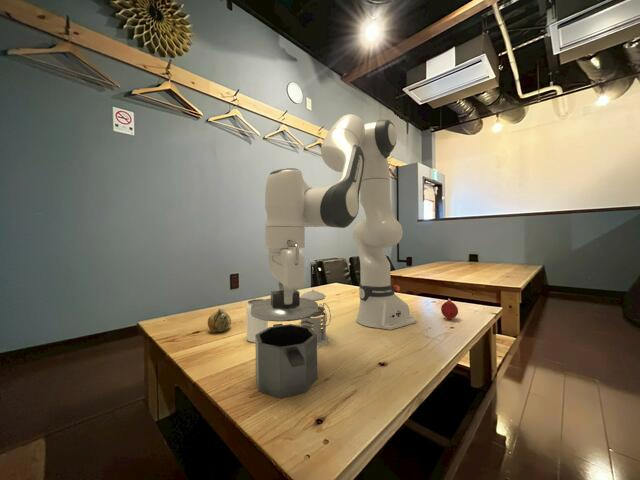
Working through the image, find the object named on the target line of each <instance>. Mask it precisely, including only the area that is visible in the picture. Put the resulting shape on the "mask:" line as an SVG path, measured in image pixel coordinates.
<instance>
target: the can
mask: <svg viewBox="0 0 640 480" xmlns="http://www.w3.org/2000/svg"><path fill="white" fill-rule="evenodd" d="M261 300H265V299H263V298H259V299H258V298H255V299H250V300H248V301H247V306H246V340H247V341H248V342H250V343H252V344H254V343H255V335H256V334H258V333H260V332H261V331H263V330H265V329H267V328H269V325H268V322H269V321H265V320H260V319H257V318H255V317H253V316H252V315H251V306H252V305H253V304H254V303H256V302H258V301H261ZM255 344H256V343H255Z"/></svg>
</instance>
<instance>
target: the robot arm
mask: <svg viewBox="0 0 640 480" xmlns="http://www.w3.org/2000/svg"><path fill="white" fill-rule="evenodd" d="M397 140H398V139H397V130H396V127H395V125H394V123H393V122H392V121H391V120H390V119H380V120H377V121H373V122H368V123H364V121H363V120H362V119H361V117H359V116H358V115H355V114H349V113H348V114H345V115H343V116H341V117H340V118H339V119H337V121H336V122H335V123H334V124H333V125H332V127H331V128H330V129H329V131H328V133H327V134H326V135H325V137H324V139H323V141H322V143H321V148H320V154H321V158H322V160H323V162H324V163H325V165H327V167H328V168H330V169H331V170H333V171H335V172H338V173H341V174H340V178H339V180H338V181H336V183H333V184H330V185H327V186H320V187H312V186H310V185H309V184H308V183H307V182H306V181H305V179H304V178H303V173H302V170H301V169H298V168H293V167H292V168H291V167H290V168H289V167H288V168H281V169H276V170H273V171H271V172H270V173H269V174H268V176H267V179H266V183H265V184H266V185H265V191H264V193H265V194H264V195H265V196H264V201H265V202H264V205H265V206H264V208H265V212H266V221H265V226H264V228H265V229H264V230H265V235H264V236H265V239H264V240H265V247H264V248H266V249H268V263H269V272H270V275H271V276H272V277H274V278H275V279H276V280H277V288H278V291H284V295H283V302H284V303H285V304H292V296H293V292H294V290H297V289H303V288H304V287H305V286H306V285H305V284H306V267H305V265H306V264H305V255H304V252H303V250H302V249H304V248H305V247H306V246H305V243H306V242H305V240H306V239H305V238H306V237H305V234H306V233H305V232H306V231H305V228H312V227H313V228H320V227H321V228H323V227H324V228H326V227H327V228H328V227H329V228H338V229H339V228H341V229H343V228H347V227H349V226H351V224H352V223H353V222H354V221H355V219H356V218H357V217H358V213H359V209H360V208H359V207H360V205H361V207H362V208H363V210H364V214H365V215H364V216H365V219H362V220H361V221H360V222H358V223H356V225H354V227H353V229H352V239H353V240H354V242H355V244H356V247H357V248H356V249H357V253H358V258H359V263H360V264H359V265H360V266H359V267H360V269H359V270H360V271H359V272H360V283H359V289H358V290H359V292H358V293H359V307H358V312H357V317H356V322H357V323H358V324H359V325H363V326H365V327H369V328H377V329H383V330H390V331H391V330H394V329H398V328H401V327H405V326H408V325H412V324H414V323H415V324H416V323H417V318H416V317H415V316H413V315H411V313H410V312H411V311H410V308H409V305H408V303H407V302H405V301H404V300H403V299H402V298H400V297H399V296H398V295H396V293H395V291H396V292H400V291H401V287H400V286H399V285H392V284H391V262H390V261H389V260H388V258H387V255H386V252H385V249H387V248H391V247H395V246H397V245H398V244H399V243H400V242H401V239H402V238H403V233H404V232H403V227H402V225H401V223H400V222H399V221H398V220H397V218H396V216H395V214H394V210H393V207H392V200H391V175H390V174H391V173H390V165H389V160H388V158H390V155H391V153H392V152H393V150H394V149H395V146H396V144H397Z"/></svg>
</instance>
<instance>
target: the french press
mask: <svg viewBox="0 0 640 480" xmlns="http://www.w3.org/2000/svg"><path fill="white" fill-rule="evenodd" d="M316 264H317V262H316V261H315V260H314V259H313V260H310V261H309V265H311V266H312V273H314V265H316ZM326 297H327V295H325V294H324V293H322V292H320V291H318V290H317V291H316V290H309V291H306V292H304V293H302V294H300V298H307V299H311V300H313V301H315V302H318V301H323V300H325V298H326ZM325 306H326V307H327V309H328V311H329V312H328V313H329V321H328V317H327V316H328V315H327V311H326V309H325ZM331 315H332V313H331V309H330V307H329V305H328V304H327V303H326V302H323V304H322V303H319V304H318V312H317V313H316V314H315V315H313V316H311V317H309V318H305V319H301V320H300V326H306V327H310V328H311V329H312V330H313V332H314V333H315V334H316V335H317V347H321V346H325V345H327V344H328V343H329V341H330V339H329V337H328V336H327V334H326V332H327V330H326V329H327V327H328V326H329V325H330V323H331V318H332V316H331ZM327 321H328V323H327Z"/></svg>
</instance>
